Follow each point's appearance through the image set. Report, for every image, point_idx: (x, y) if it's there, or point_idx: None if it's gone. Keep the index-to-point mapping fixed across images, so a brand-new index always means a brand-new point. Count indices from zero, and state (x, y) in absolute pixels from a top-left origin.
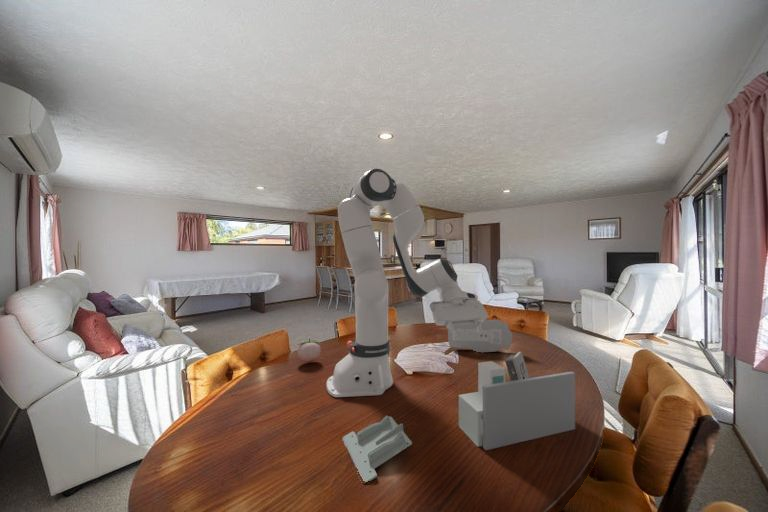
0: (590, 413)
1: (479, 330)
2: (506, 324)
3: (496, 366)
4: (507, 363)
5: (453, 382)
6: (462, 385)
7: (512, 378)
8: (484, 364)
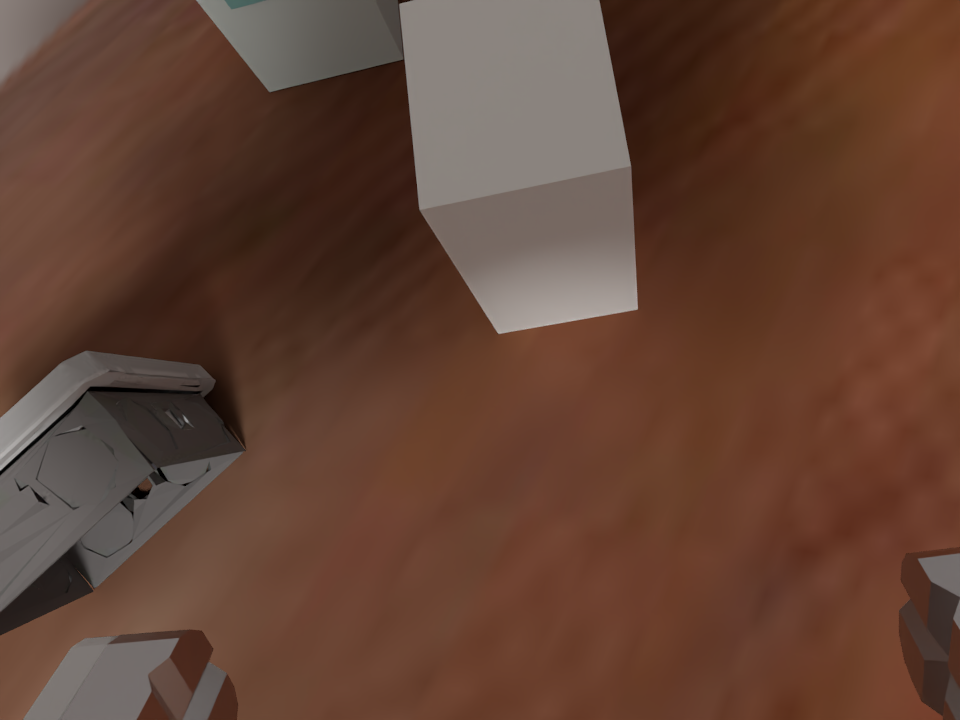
0: (79, 41)
1: (170, 634)
2: None
3: (463, 51)
4: (155, 448)
5: (790, 592)
6: (714, 506)
7: (214, 437)
8: (575, 111)
